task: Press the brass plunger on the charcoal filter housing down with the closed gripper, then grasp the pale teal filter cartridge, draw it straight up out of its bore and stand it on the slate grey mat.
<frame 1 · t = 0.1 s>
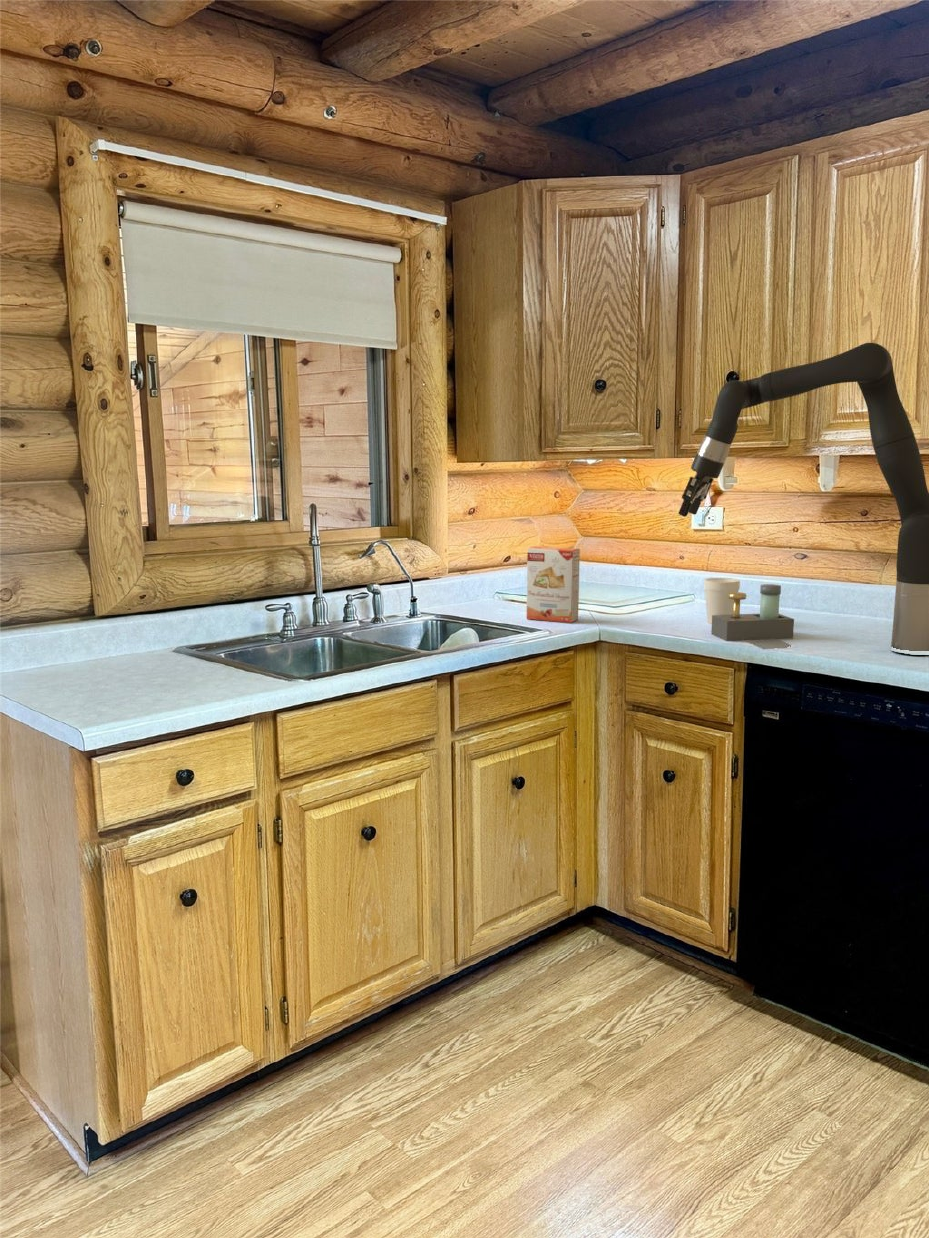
hand: (687, 514, 253), 31 cm above the worktop, tool tilted 20°, fingers open, 8 cm apart
cracker box: (552, 620, 275), on the worktop
brass plunger: (736, 611, 244), point 8 cm above the worktop, slide at 0.0 cm
filter housing: (751, 640, 246), on the worktop
filter cartridge: (768, 635, 247), point 1 cm above the worktop, touching filter housing
foam cup: (719, 627, 265), on the worktop
slate mat: (771, 648, 236), on the worktop
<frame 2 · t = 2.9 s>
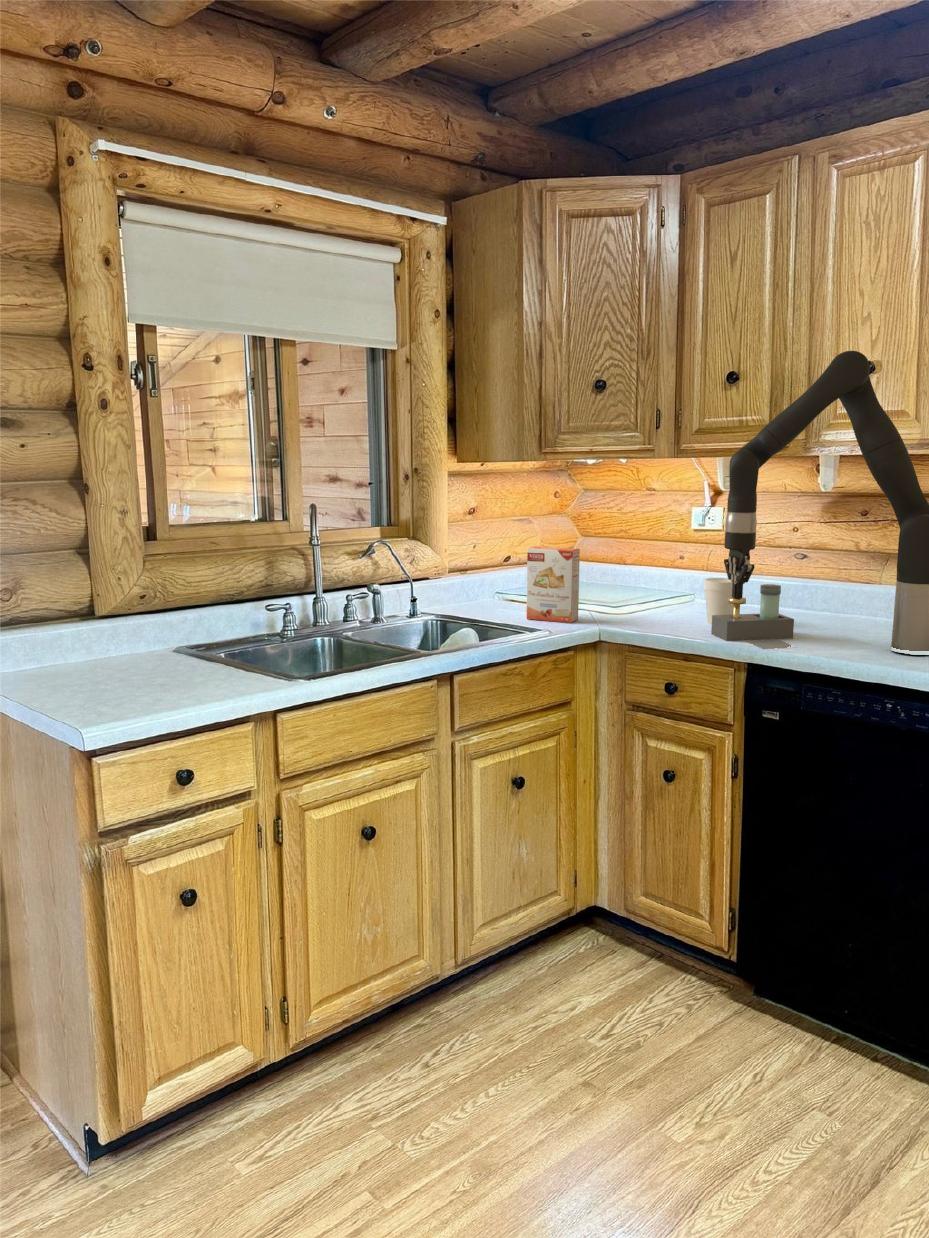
hand: (736, 598, 244), 11 cm above the worktop, tool pointing down, fingers closed
brass plunger: (736, 616, 244), point 6 cm above the worktop, slide at 1.2 cm, touching gripper
everything else where it was.
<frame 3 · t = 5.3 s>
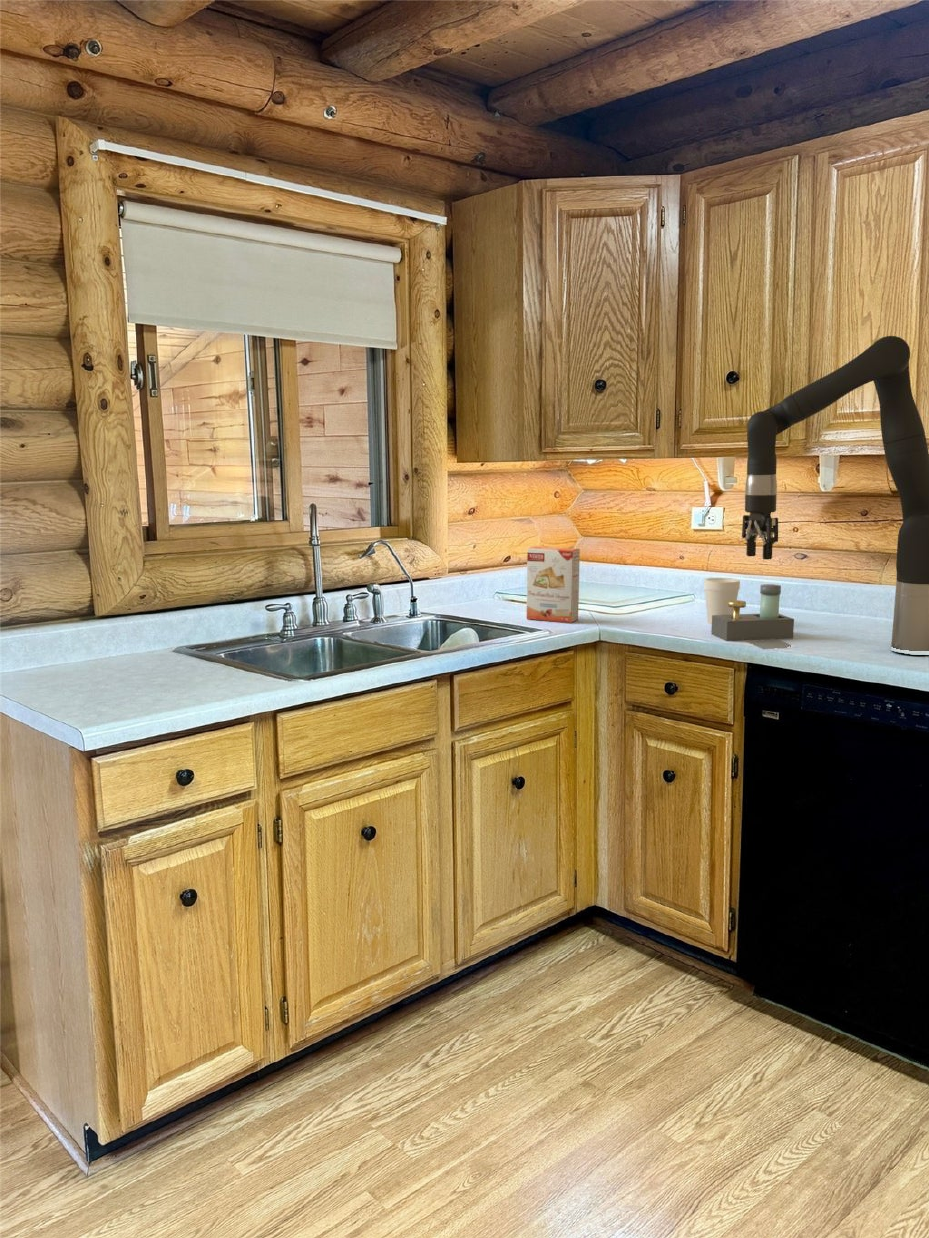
hand: (758, 557, 242), 21 cm above the worktop, tool pointing down, fingers open, 8 cm apart
brass plunger: (736, 619, 245), point 6 cm above the worktop, slide at 2.1 cm
everything else where it was.
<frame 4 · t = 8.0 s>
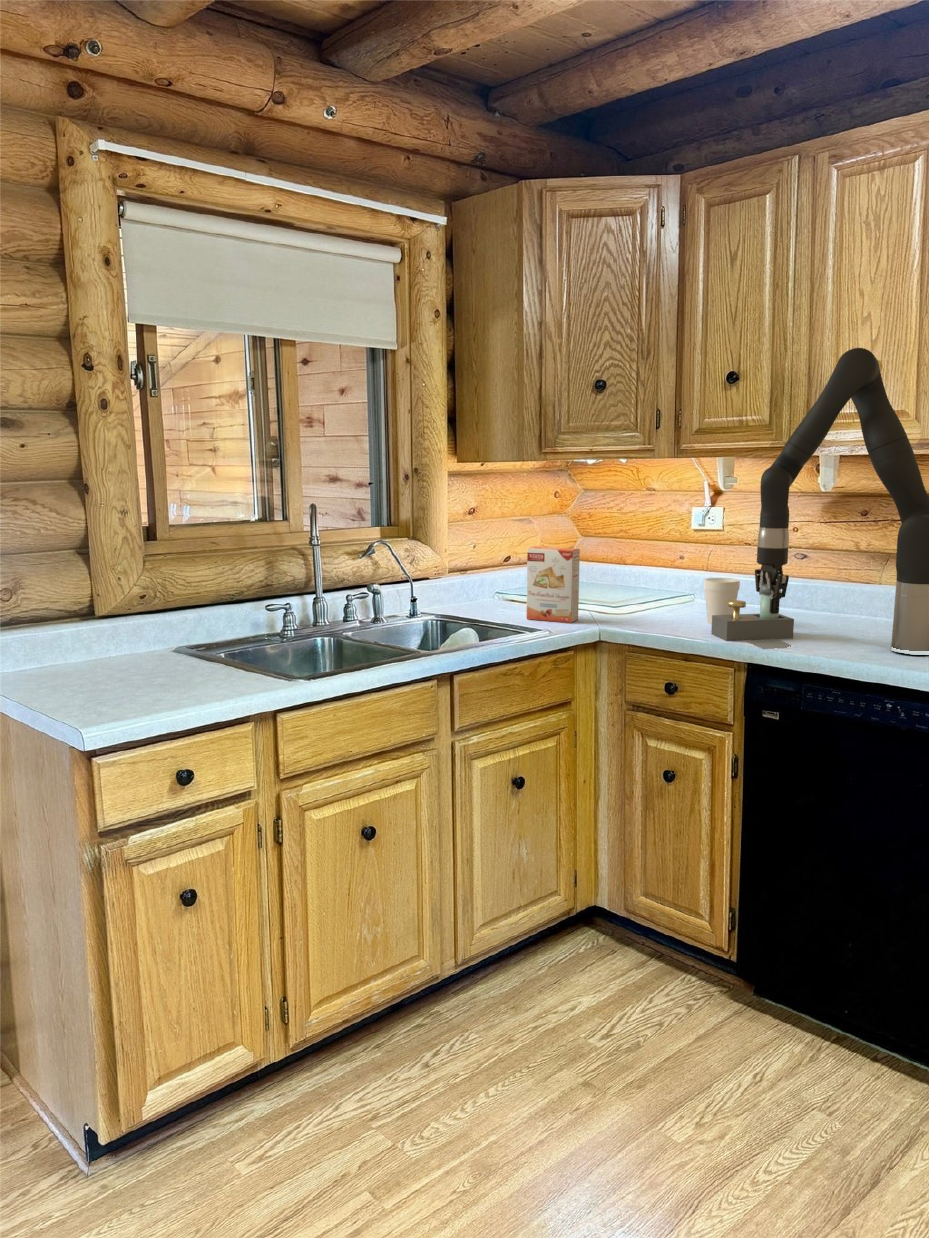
hand: (769, 611, 246), 7 cm above the worktop, tool pointing down, fingers closed on filter cartridge, 4 cm apart
filter cartridge: (768, 635, 247), point 1 cm above the worktop, touching filter housing, gripper
everything else where it was.
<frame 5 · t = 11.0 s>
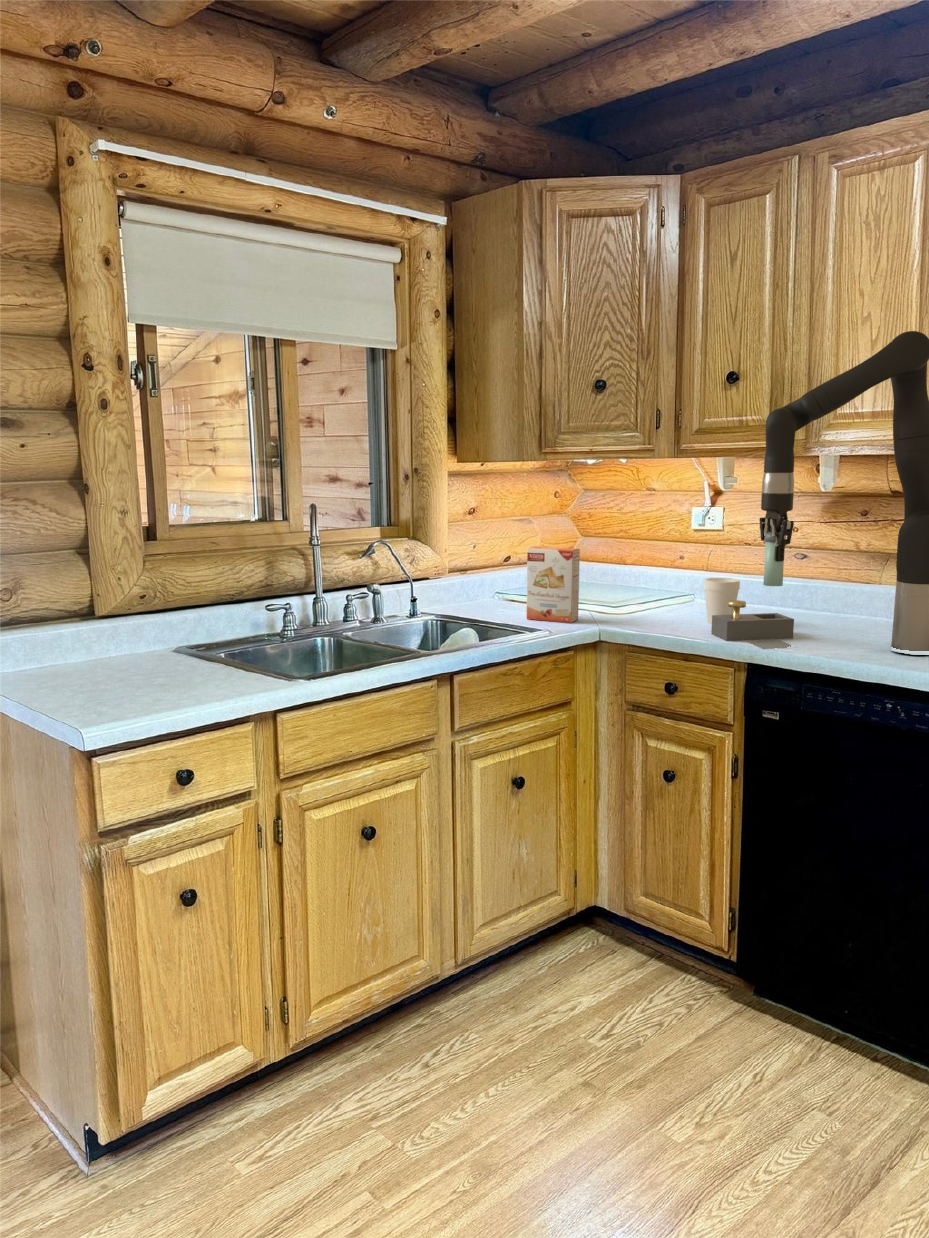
hand: (774, 559, 239), 21 cm above the worktop, tool pointing down, fingers closed on filter cartridge, 4 cm apart
filter cartridge: (772, 584, 240), point 15 cm above the worktop, touching gripper
everything else where it was.
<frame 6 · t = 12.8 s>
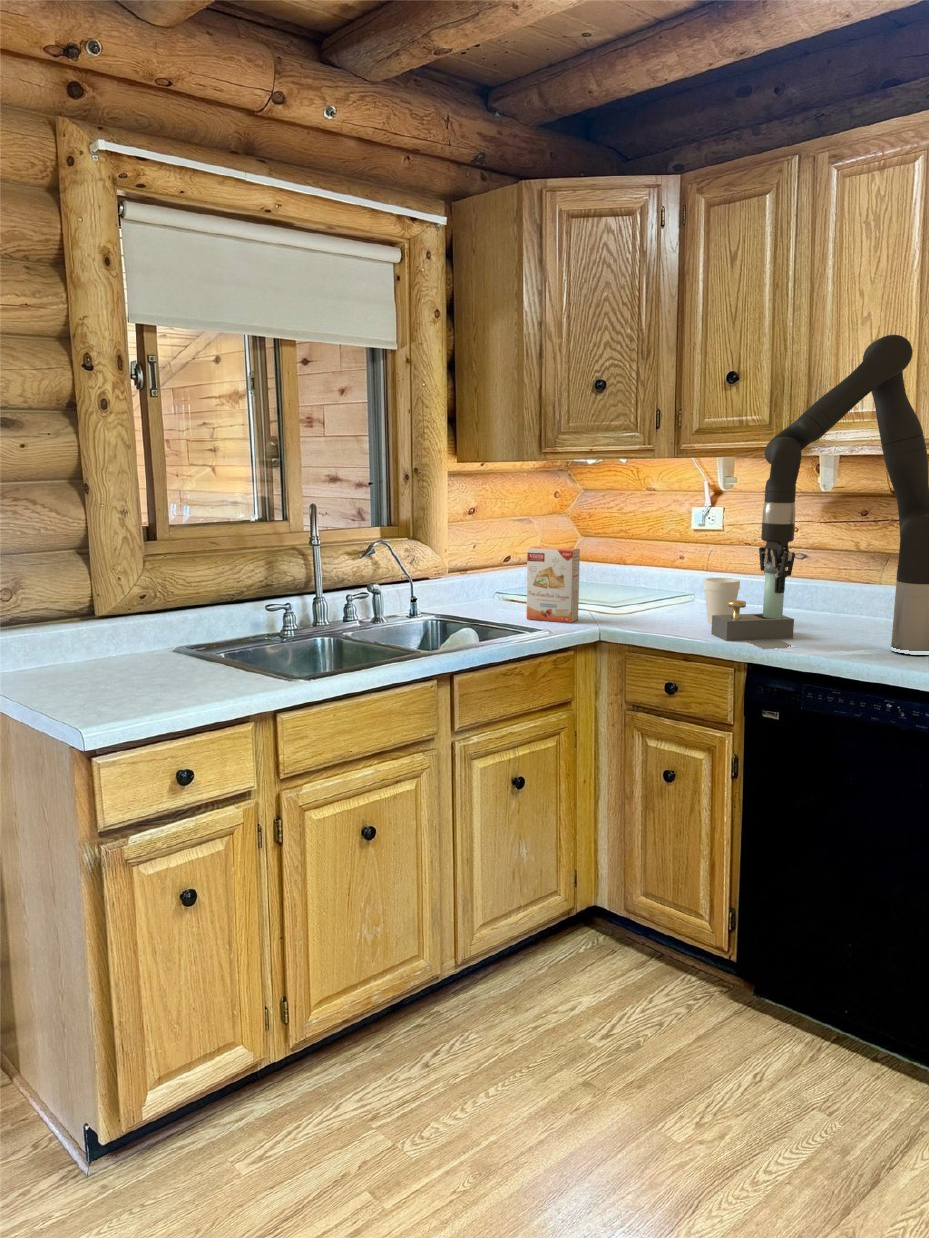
hand: (774, 591, 234), 14 cm above the worktop, tool pointing down, fingers closed on filter cartridge, 4 cm apart
filter cartridge: (772, 616, 235), point 8 cm above the worktop, touching gripper
everything else where it was.
when the fingers open (8 cm above the worktop, at t = 14.3 s): filter cartridge drops 1 cm, resting on slate mat.
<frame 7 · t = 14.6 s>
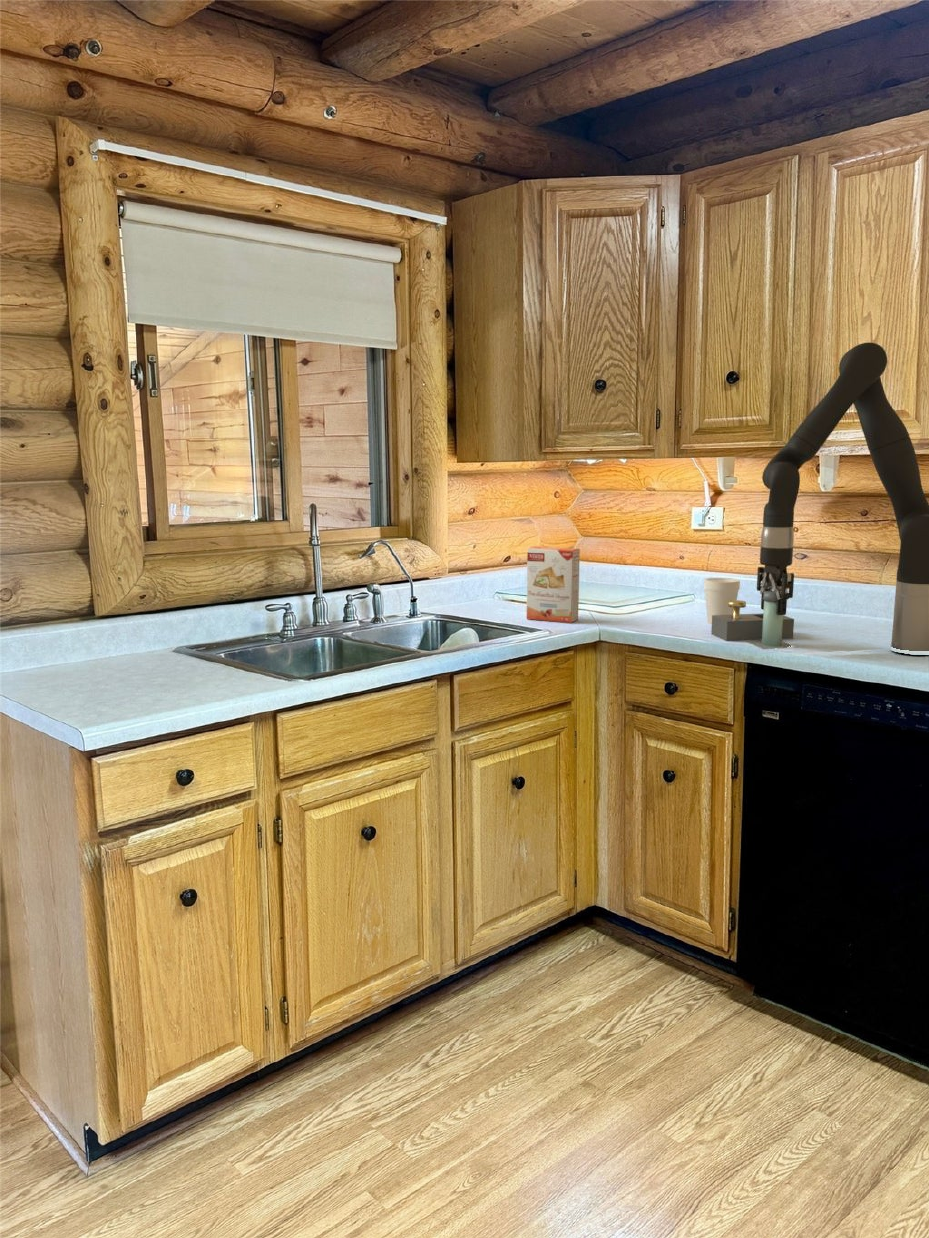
hand: (773, 612, 234), 9 cm above the worktop, tool pointing down, fingers open, 7 cm apart
filter cartridge: (771, 644, 236), point 1 cm above the worktop, touching slate mat
everything else where it was.
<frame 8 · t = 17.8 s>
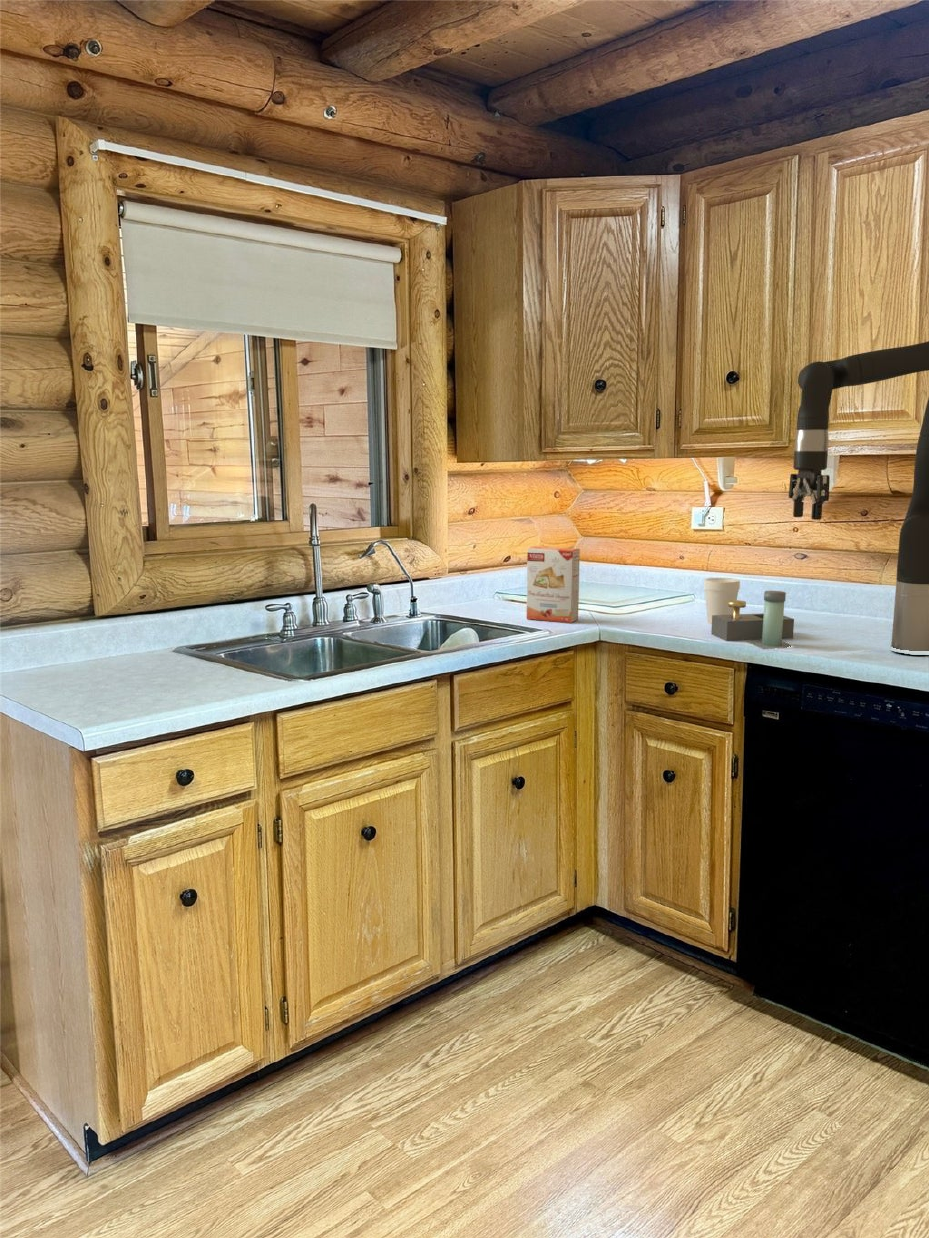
hand: (806, 518, 229), 32 cm above the worktop, tool pointing down, fingers open, 8 cm apart
nothing on the worktop moved.
at the end: brass plunger slide at 2.1 cm; filter cartridge inside the target area on the slate mat (0.1 cm from its centre), point 1.0 cm above the slate mat's base; filter cartridge tilted 1° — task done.
